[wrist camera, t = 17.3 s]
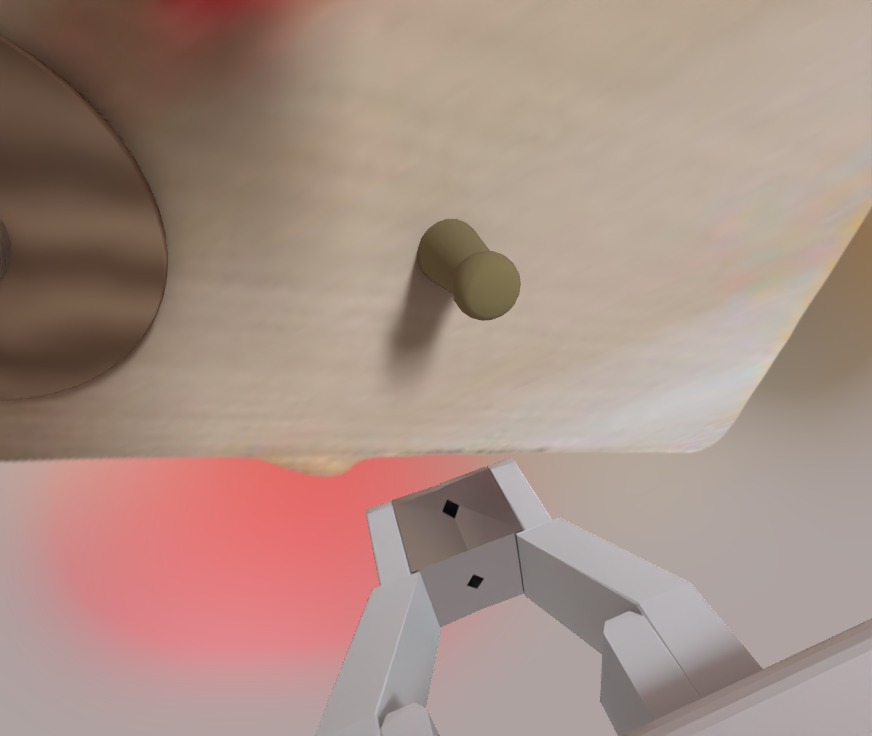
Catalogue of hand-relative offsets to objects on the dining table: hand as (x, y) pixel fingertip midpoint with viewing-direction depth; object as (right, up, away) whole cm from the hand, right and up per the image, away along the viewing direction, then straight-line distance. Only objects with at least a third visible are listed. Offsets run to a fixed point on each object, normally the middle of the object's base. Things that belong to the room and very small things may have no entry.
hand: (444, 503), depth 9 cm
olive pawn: (+1, +14, +33) cm, 36 cm away
